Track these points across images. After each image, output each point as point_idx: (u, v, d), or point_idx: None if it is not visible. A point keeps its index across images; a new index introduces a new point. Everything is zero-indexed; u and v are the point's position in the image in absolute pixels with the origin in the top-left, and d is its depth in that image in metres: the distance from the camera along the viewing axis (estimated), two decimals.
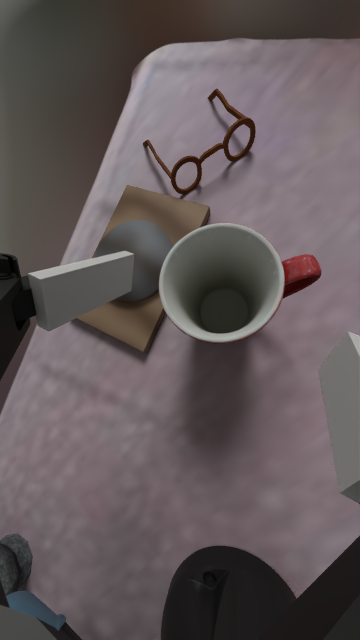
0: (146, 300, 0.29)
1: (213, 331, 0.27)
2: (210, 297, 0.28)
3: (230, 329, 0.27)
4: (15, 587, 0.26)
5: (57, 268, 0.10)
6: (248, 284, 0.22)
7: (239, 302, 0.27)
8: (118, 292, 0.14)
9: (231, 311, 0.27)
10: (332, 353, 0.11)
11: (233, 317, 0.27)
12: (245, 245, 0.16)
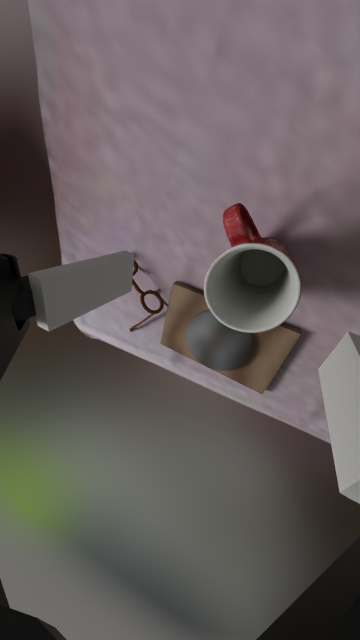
0: None
1: (281, 273, 0.30)
2: (248, 277, 0.32)
3: (279, 257, 0.29)
4: None
5: (57, 268, 0.10)
6: (240, 252, 0.26)
7: (253, 252, 0.30)
8: (118, 292, 0.14)
9: (261, 258, 0.30)
10: (332, 353, 0.11)
11: (267, 256, 0.29)
12: (217, 269, 0.22)
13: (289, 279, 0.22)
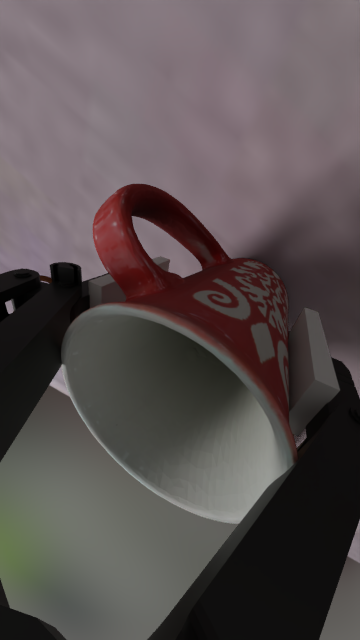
0: None
1: None
2: None
3: None
4: None
5: (110, 275, 0.10)
6: None
7: None
8: None
9: None
10: (293, 327, 0.13)
11: None
12: (98, 346, 0.09)
13: None
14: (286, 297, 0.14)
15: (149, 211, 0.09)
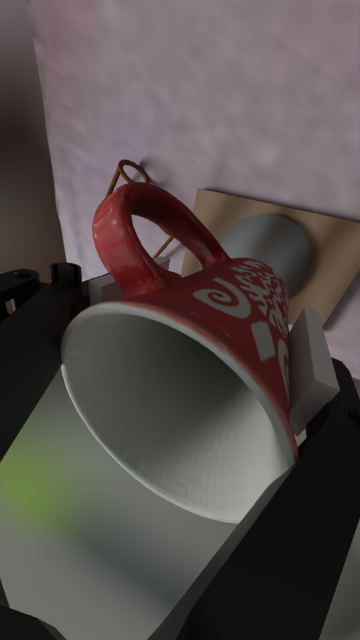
0: (308, 238, 0.26)
1: None
2: None
3: None
4: None
5: (110, 275, 0.10)
6: None
7: None
8: None
9: None
10: (293, 327, 0.13)
11: None
12: (98, 345, 0.09)
13: None
14: (286, 296, 0.14)
15: (149, 210, 0.09)
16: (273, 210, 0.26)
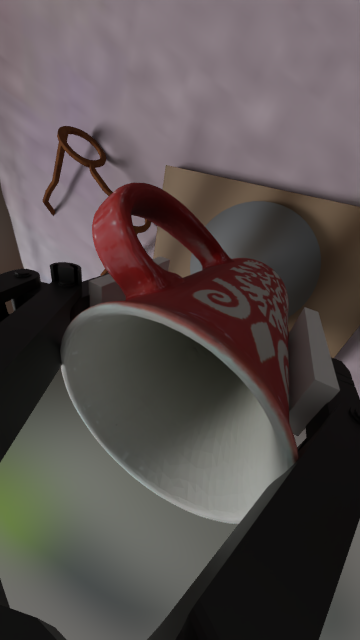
0: (319, 238, 0.18)
1: None
2: None
3: None
4: None
5: (110, 275, 0.10)
6: None
7: None
8: None
9: None
10: (293, 327, 0.13)
11: None
12: (97, 345, 0.09)
13: None
14: (286, 297, 0.14)
15: (149, 210, 0.09)
16: (269, 196, 0.18)
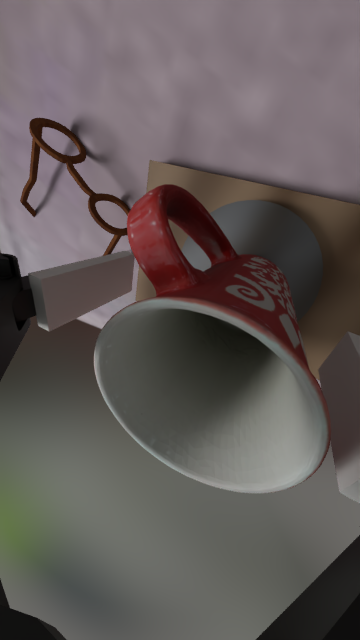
0: (320, 242, 0.16)
1: None
2: None
3: None
4: None
5: (57, 268, 0.10)
6: None
7: None
8: (118, 292, 0.14)
9: None
10: (332, 353, 0.11)
11: None
12: (127, 339, 0.10)
13: None
14: None
15: (172, 210, 0.10)
16: (264, 194, 0.16)
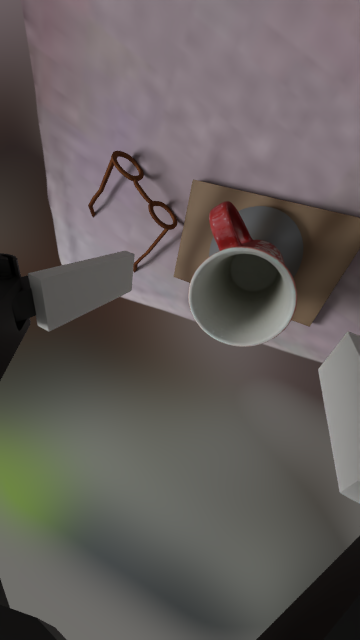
0: (301, 231, 0.26)
1: (274, 277, 0.27)
2: (238, 281, 0.30)
3: None
4: None
5: (57, 268, 0.10)
6: (230, 255, 0.24)
7: (244, 254, 0.28)
8: (117, 292, 0.14)
9: (253, 261, 0.28)
10: (332, 353, 0.11)
11: (259, 259, 0.27)
12: (203, 276, 0.20)
13: (283, 287, 0.20)
14: None
15: None
16: (267, 202, 0.26)
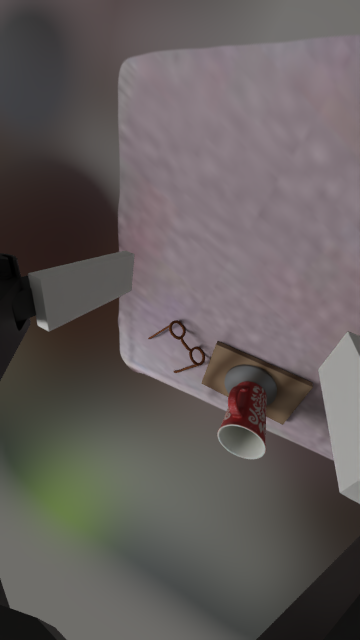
0: (276, 381, 0.48)
1: None
2: None
3: None
4: None
5: (57, 268, 0.10)
6: (237, 400, 0.46)
7: None
8: (118, 292, 0.14)
9: None
10: (332, 353, 0.11)
11: None
12: None
13: None
14: (265, 398, 0.47)
15: None
16: (257, 365, 0.48)
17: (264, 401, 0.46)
